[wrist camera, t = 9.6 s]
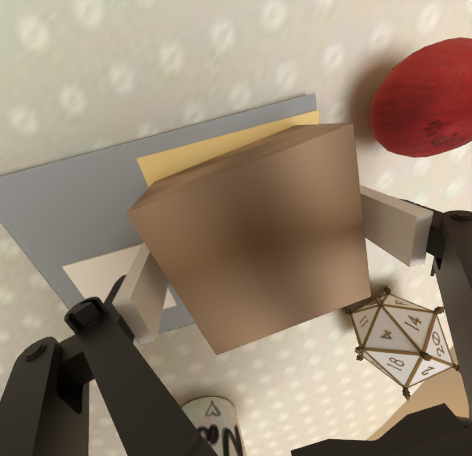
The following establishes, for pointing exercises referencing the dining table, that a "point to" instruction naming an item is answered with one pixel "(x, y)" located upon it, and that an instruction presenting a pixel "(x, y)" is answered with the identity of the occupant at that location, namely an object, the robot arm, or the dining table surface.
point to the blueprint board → (119, 200)
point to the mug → (217, 424)
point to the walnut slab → (261, 233)
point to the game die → (401, 340)
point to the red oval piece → (426, 101)
